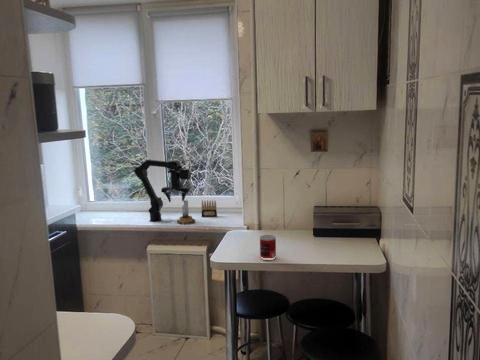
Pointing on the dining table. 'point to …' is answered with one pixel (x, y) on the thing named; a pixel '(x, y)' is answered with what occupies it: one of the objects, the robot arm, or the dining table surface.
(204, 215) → the ammunition clip
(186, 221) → the sprocket
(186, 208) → the drive pin
